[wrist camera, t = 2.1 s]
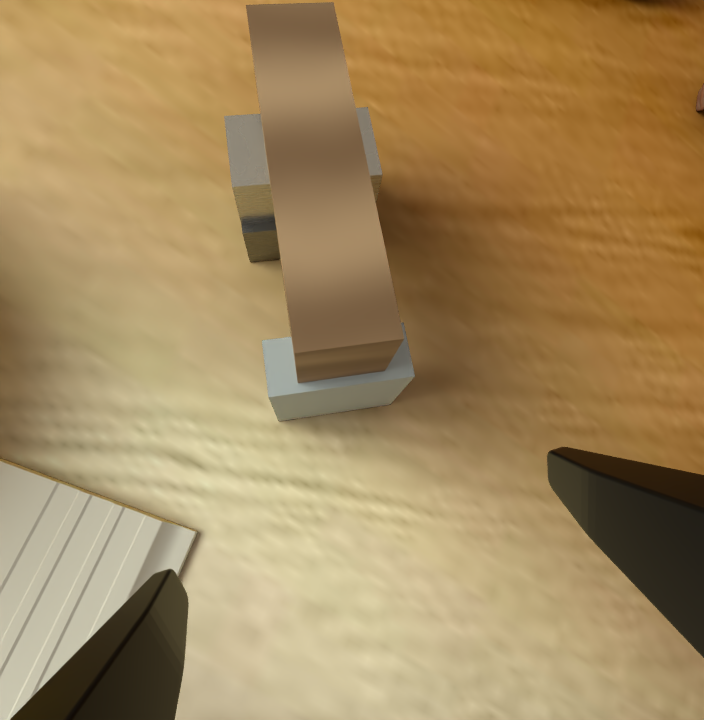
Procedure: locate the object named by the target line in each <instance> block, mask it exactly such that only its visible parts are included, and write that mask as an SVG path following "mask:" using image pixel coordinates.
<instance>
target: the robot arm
mask: <svg viewBox="0 0 704 720" xmlns="http://www.w3.org/2000/svg"><path fill="white" fill-rule="evenodd" d="M547 465H548V480H549V483H550V486H551V488H552V489H553V491H554V492H555V493H556V495H557V496H558V497H559V499H560V500H561V501H562V502H563V504H564V505H565V506H566V508H567V509H568V510H569V512H570V513H571V514H572V516H573V517H574V518H575V520H576V521H577V522H578V524H579V525H580V526H581V527H582V529H583V530H584V531H585V532H586V534H587V535H588V536H589V537H590V538H591V539H592V540H593V542H594V543H595V544H596V545H597V546H598V547H599V548H600V549H601V550H602V551H603V552H604V553H605V554H606V555H607V556H608V557H609V558H610V560H611V561H612V562H613V563H614V564H615V565H616V566H617V567H618V568H619V569H620V570H621V571H622V572H623V573H624V574H625V575H626V576H627V577H628V579H629V580H630V581H631V582H632V583H633V584H634V585H635V586H636V587H637V588H638V589H639V590H640V591H641V592H642V593H643V594H644V595H645V596H646V597H647V599H648V600H649V601H650V602H651V603H652V604H653V605H654V606H655V607H656V608H657V609H658V610H659V611H660V612H661V613H662V614H663V615H664V616H665V618H666V619H667V620H668V621H669V622H670V623H671V624H672V625H673V626H674V627H675V628H676V629H677V630H678V631H679V632H680V633H681V634H682V635H683V636H684V638H685V639H686V640H687V641H688V642H689V643H690V644H691V645H692V646H693V647H694V648H695V649H696V650H697V651H698V652H699V653H700V654H701V655H702V657H703V658H704V475H701V474H696V473H691V472H686V471H681V470H676V469H671V468H666V467H661V466H656V465H652V464H647V463H642V462H637V461H632V460H627V459H622V458H617V457H612V456H608V455H603V454H598V453H593V452H588V451H583V450H578V449H573V448H568V447H560V448H557V449H554V450H551V451H549V452H548V455H547ZM187 619H188V596H187V593H186V591H185V589H184V587H183V585H182V583H181V581H180V580H179V578H178V576H177V574H176V572H175V571H174V570H173V569H166V570H163V571H160V572H157V573H154V574H153V575H152V576H151V577H150V578H149V579H148V580H147V581H146V582H145V583H144V584H143V585H142V586H141V587H140V588H139V589H138V590H137V591H136V592H135V593H134V594H133V595H132V596H131V597H130V598H129V599H128V600H127V601H126V602H125V603H124V604H123V605H122V606H121V607H120V608H119V609H118V610H117V611H116V612H115V613H114V614H113V615H112V616H111V617H110V618H109V619H108V620H107V621H106V622H105V623H104V624H103V626H102V627H101V628H100V629H99V630H98V631H97V632H96V633H95V634H94V635H93V636H92V637H91V638H90V639H89V640H88V641H87V642H86V643H85V644H84V645H83V646H82V647H81V648H80V649H79V650H78V651H77V652H76V653H75V654H74V655H73V656H72V657H71V658H70V659H69V660H68V661H67V662H66V663H65V664H64V665H63V666H62V667H61V668H60V669H59V670H58V671H57V672H56V673H55V674H54V675H53V676H52V677H51V678H50V679H49V680H48V681H47V682H46V683H45V684H44V685H43V686H42V687H41V688H40V689H39V690H38V691H37V692H36V693H35V694H34V695H33V696H32V697H31V698H30V699H29V700H28V701H27V702H26V704H25V705H24V706H23V707H22V708H21V709H20V710H19V711H18V712H17V713H16V714H15V715H14V716H13V717H12V718H11V719H10V720H175V714H176V709H177V704H178V698H179V693H180V687H181V682H182V676H183V670H184V660H185V647H186V633H187Z"/></svg>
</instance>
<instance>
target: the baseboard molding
mask: <svg viewBox="0 0 704 720" xmlns="http://www.w3.org/2000/svg"><path fill="white" fill-rule="evenodd" d="M197 532H198V531H195V530H193V529H190V528H187V527H185V526H182V525H179V524H176V523H174V522H171V521H168V520H166V519H163V518H160V517H158V516H155V515H152V514H149V513H147V512H144V511H141V510H139V509H136V508H133V507H131V506H128V505H125V504H123V503H120V502H117V501H114V500H112V499H109V498H106V497H104V496H101V495H98V494H96V493H93V492H90V491H88V490H85V489H82V488H79V487H77V486H74V485H71V484H69V483H66V482H63V481H61V480H58V479H55V478H53V477H50V476H47V475H44V474H42V473H39V472H36V471H34V470H31V469H28V468H26V467H23V466H20V465H17V464H15V463H12V462H9V461H7V460H4V459H1V458H0V720H10V719H11V718H12V717H13V716H14V715H15V714H16V713H17V712H18V711H19V710H20V709H21V708H22V707H23V706H24V705H25V704H26V702H27V701H28V700H29V699H30V698H31V697H32V696H33V695H34V694H35V693H36V692H37V691H38V690H39V689H40V688H41V687H42V686H43V685H44V684H45V683H46V682H47V681H48V680H49V679H50V678H51V677H52V676H53V675H54V674H55V673H56V672H57V671H58V670H59V669H60V668H61V667H62V666H63V665H64V664H65V663H66V662H67V661H68V660H69V659H70V658H71V657H72V656H73V655H74V654H75V653H76V652H77V651H78V650H79V649H80V648H81V647H82V646H83V645H84V644H85V643H86V642H87V641H88V640H89V639H90V638H91V637H92V636H93V635H94V634H95V633H96V632H97V631H98V630H99V629H100V628H101V627H102V626H103V624H104V623H105V622H106V621H107V620H108V619H109V618H110V617H111V616H112V615H113V614H114V613H115V612H116V611H117V610H118V609H119V608H120V607H121V606H122V605H123V604H124V603H125V602H126V601H127V600H128V599H129V598H130V597H131V596H132V595H133V594H134V593H135V592H136V591H137V590H138V589H139V588H140V587H141V586H142V585H143V584H144V583H145V582H146V581H147V580H148V579H149V578H150V577H151V576H152V575H153V574H154V573H157V572H160V571H163V570H166V569H173V570H174V571H175V572H176V574H177V576H178V577H179V574H180V572H181V570H182V567H183V565H184V563H185V560H186V558H187V556H188V553H189V551H190V549H191V546H192V544H193V542H194V539H195V537H196V535H197Z"/></svg>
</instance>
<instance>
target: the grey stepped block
mask: <svg viewBox="0 0 704 720" xmlns="http://www.w3.org/2000/svg"><path fill="white" fill-rule="evenodd" d="M356 112H357V117H358V121H359V126H360V131H361V136H362V140H363V145H364V150H365V155H366V159H367V164H368V169H369V174H370V178H371V183H372V188H373V193H374V197H375V202H376V201H377V197H378V192H379V188H380V184H381V179H382V170H381V165H380V161H379V156H378V152H377V147H376V143H375V138H374V134H373V129H372V124H371V120H370V115H369V111H368V107H364V108H356ZM224 118H225V127H226V136H227V145H228V154H229V163H230V172H231V181H232V188H233V192H234V196H235V200H236V204H237V208H238V212H239V216H240V220H241V224H242V232H243V237H244V241H245V244H246V248H247V252H248V256H249V260H250V262H257V261H266V260H276V259H280V252H279V245H278V237H277V230H276V223H275V216H274V209H273V201H272V194H271V187H270V180H269V172H268V165H267V158H266V151H265V143H264V136H263V129H262V122H261V115H260V114H251V115H235V116H224Z"/></svg>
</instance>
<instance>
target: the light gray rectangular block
mask: <svg viewBox="0 0 704 720" xmlns="http://www.w3.org/2000/svg"><path fill="white" fill-rule="evenodd" d="M401 326H402V330H403V335H404V340H403V342H402V343H401V345H400V347H399V348H398V350H397V352H396V353H395V355H394V357H393V358H392V360H391V362H390V363H389V365H388V367H387V368H386V370H385V371H382V372H375V373H367V374H360V375H353V376H346V377H339V378H332V379H325V380H318V381H311V382H304V383H298V382H297V375H296V367H295V360H294V353H293V346H292V339H291V337H285V338H278V339H270V340H262V346H263V354H264V362H265V371H266V379H267V388H268V396H269V399H270V402H271V404H272V407H273V409H274V411H275V414H276V416H277V419H278V421H285V420H291V419H298V418H304V417H311V416H318V415H324V414H331V413H337V412H344V411H351V410H357V409H364V408H370V407H377V406H384V405H390V404H391V403H392V402H393V401H394V400H395V399H396V397H397V396H398V395H399V394H400V393H401V392H402V391H403V389H404V388H405V387H406V386H407V385H408V384H409V383H410V381H411V380H412V379H413V378H414V377H415V374H414V370H413V365H412V360H411V355H410V351H409V346H408V341H407V337H406V332H405V327H404V322H403V323H401Z"/></svg>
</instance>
